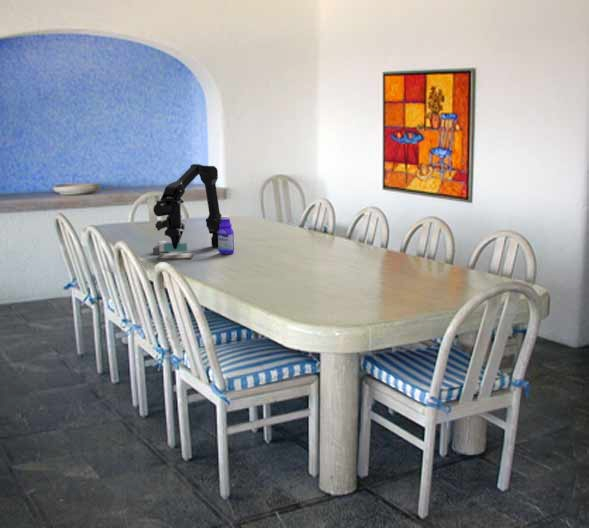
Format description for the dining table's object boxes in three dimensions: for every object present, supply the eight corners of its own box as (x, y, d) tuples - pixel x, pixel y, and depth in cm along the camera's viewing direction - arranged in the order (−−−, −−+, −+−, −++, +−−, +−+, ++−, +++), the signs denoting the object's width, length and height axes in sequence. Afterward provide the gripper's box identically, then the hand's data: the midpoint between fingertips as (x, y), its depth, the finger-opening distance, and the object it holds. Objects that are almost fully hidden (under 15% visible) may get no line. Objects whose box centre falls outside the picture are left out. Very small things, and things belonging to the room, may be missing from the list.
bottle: (216, 253, 354) (215, 216, 351) (223, 251, 359) (222, 214, 356) (229, 255, 351) (228, 217, 347) (236, 253, 356) (235, 215, 352)
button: (167, 247, 359) (166, 240, 358) (165, 248, 355) (165, 242, 354) (158, 247, 359) (158, 240, 358) (156, 248, 355) (156, 242, 354)
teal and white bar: (187, 249, 349) (187, 242, 348) (186, 251, 345) (185, 243, 345) (160, 250, 349) (160, 242, 348) (159, 251, 345) (159, 243, 345)
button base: (170, 251, 361) (170, 245, 360) (168, 254, 354) (168, 247, 353) (156, 251, 361) (155, 245, 360) (153, 254, 354) (152, 247, 353)
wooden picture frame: (194, 254, 353) (194, 251, 353) (190, 259, 342) (190, 256, 342) (161, 254, 353) (161, 251, 353) (157, 259, 342) (156, 256, 342)
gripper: (160, 211, 353) (161, 244, 356) (152, 216, 335) (153, 252, 338) (184, 210, 353) (185, 244, 356) (177, 216, 334) (179, 252, 338)
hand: (175, 248), depth 347 cm, fingers closed on teal and white bar, 3 cm apart
